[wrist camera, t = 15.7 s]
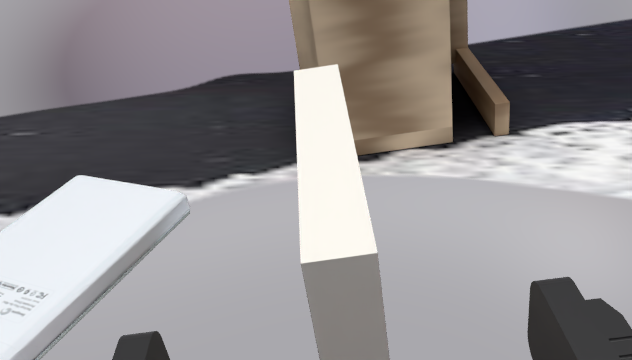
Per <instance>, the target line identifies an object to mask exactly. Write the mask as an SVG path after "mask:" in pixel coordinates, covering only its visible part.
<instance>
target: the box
mask: <svg viewBox="0 0 632 360" xmlns="http://www.w3.org/2000/svg"><path fill="white" fill-rule="evenodd" d="M289 4H290V11H291V17H292V23H293V29H294V36H295V41H296V48H297V54H298V60H299V66H300V70H303V69H309V68H316V67H323V66H329V65H336V64H338V68H339V73H340V78H341V82H342V87H343V92H344V97H345V101H346V106H347V111H348V116H349V120H350V125H351V130H352V134H353V139H354V144H355V149H356V153H357V155H365V154H372V153H379V152H386V151H393V150H400V149H407V148H414V147H421V146H428V145H436V144H443V143H450V142H453V127H452V85H451V64H453V63H454V73H455V75H456V76H457V78H458V79H459V81H460V83H461V84H462V86H463V87H464V89H465V90H466V92H467V94H468V95H469V97H470V98H471V100H472V101H473V103H474V104H475V106H476V108H477V109H478V111H479V112H480V114H481V115H482V117H483V119H484V120H485V122H486V123H487V125H488V126H489V128H490V130H491V131H492V133H493V134H494V136H499V135H507V134H509V110H510V102H509V101H508V99H507V98H506V97H505V96H504V94H503V93H502V92H501V90H500V89H499V88H498V86H497V85H496V84H495V82H494V81H493V80H492V79H491V77H490V76H489V75H488V73H487V72H486V71H485V69H484V68H483V67H482V65H481V64H480V63H479V62H478V60H477V59H476V58H475V56H474V55H473V54H472V52H471V51H470V50H469V49H468V34H467V33H468V25H467V0H289Z"/></svg>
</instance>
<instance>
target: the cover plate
mask: <svg viewBox="0 0 632 360" xmlns="http://www.w3.org/2000/svg"><path fill="white" fill-rule="evenodd" d="M294 87H295V115H296V143H297V171H298V199H299V226H300V255H301V267H302V272H303V277H304V282H305V287H306V292H307V297H308V302H309V307H310V312H311V317H312V322H313V327H314V333H315V338H316V343H317V348H318V353H319V358H320V360H390V359H389V350H388V342H387V332H386V323H385V315H384V306H383V297H382V288H381V279H380V270H379V261H378V253H377V248H376V243H375V239H374V234H373V229H372V224H371V219H370V215H369V210H368V205H367V201H366V196H365V191H364V186H363V182H362V177H361V172H360V167H359V163H358V158H357V153H356V149H355V144H354V139H353V134H352V130H351V125H350V120H349V116H348V111H347V106H346V101H345V97H344V92H343V87H342V82H341V78H340V73H339V68H338V64H336V65H329V66H323V67H316V68H309V69H303V70H296V71H294Z"/></svg>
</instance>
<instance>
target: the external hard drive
mask: <svg viewBox="0 0 632 360" xmlns="http://www.w3.org/2000/svg"><path fill="white" fill-rule="evenodd" d="M189 214H190V206H189V203H188V200H187V197H186V195H185V194H183V193H181V192H178V191H174V190H168V189H162V188H155V187H150V186H143V185H137V184H131V183H125V182H119V181H114V180H107V179H102V178H95V177H89V176H82V175H79V176H76V177H74V178H73V179H71V180H70V181H69V182H67V183H66V184H65V185H63V186H62V187H61V188H59V189H58V190H57V191H55V192H54V193H52V194H51V195H50V196H48V197H47V198H46V199H44V200H43V201H41V202H40V203H39V204H37V205H36V206H35V207H33V208H32V209H30V210H29V211H28V212H26V213H25V214H24V215H22V216H21V217H20V218H18V219H17V220H15V221H14V222H13V223H11V224H10V225H9V226H7V227H6V228H5V229H3V230H2V231H0V360H40V359H41V358H42V357H43V356H44V355H45V354H46V353H47V352H48V351H49V350H51V349H52V348H53V347H54V346H55V345H56V344H57V343H58V342H59V341H60V340H61V339H62V338H63V337H64V336H65V335H66V334H67V333H68V332H69V331H70V330H71V329H72V328H73V327H74V326H75V325H76V324H77V323H78V322H79V321H80V320H81V319H82V318H83V317H84V316H85V315H86V314H88V312H90V311H91V310H92V309H93V308H94V307H95V306H96V305H97V304H98V303H99V302H100V301H101V300H102V299H103V298H104V297H105V296H106V295H107V294H108V293H109V292H110V291H111V290H112V289H113V288H114V287H115V286H116V285H117V284H118V283H119V282H120V281H121V280H122V279H123V278H124V277H125V276H126V275H127V274H129V273H130V271H132V270H133V268H134V267H135V266H137V265H138V264H139V263H140V262H141V261H142V260H143V259H144V258H145V256H147V255H148V254H149V253H150V252H151V251H152V250H153V249H154V248H155V247H156V246H157V245H158V244H159V243H160V242H161V241H162V240H163V239H164V238H165V237H166V236H167V235H168V234H169V233H170V232H171V231H172V230H173V229H175V228H176V227H177V226H178V224H180V223H181V222H182V221H183V220H184V219H185V218H186V217H187V216H188V215H189Z"/></svg>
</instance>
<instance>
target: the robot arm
mask: <svg viewBox="0 0 632 360" xmlns="http://www.w3.org/2000/svg"><path fill="white" fill-rule="evenodd" d="M528 342H529V347H530V352H531V356H532V359H533V360H632V329H631V327H630V326H629V324H628V323H627V321H626V320H625V319H624V317H623V315H622V314H620V313H619V312H618V311H617V310H615V309H614V308H613V307H611V306H610V305H609V304H607V303H606V302H605V301H603V300H602V299H601V298H600V299H591V300H585V299H584V298H583V296H582V295H581V293H580V291H579V290H578V288H577V286H576V285H575V283H574V281H573V280H572V279H571V278H570V277H563V278H555V279H547V280H540V281H533V282H532V283H531V287H530V301H529V319H528ZM112 360H170V358H169V356H168V353H167V350H166V348H165V345H164V343H163V340H162V337H161V335H160V334H159V332H157V331H154V332H146V333H138V334H130V335H123V336H122V337H121V338H120V339H119V341H118V344H117V347H116V350H115V353H114V356H113V359H112Z"/></svg>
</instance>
